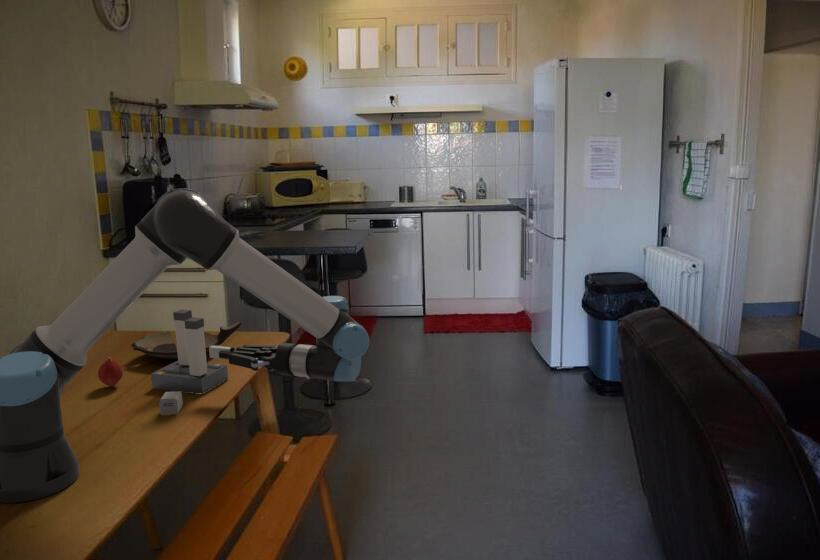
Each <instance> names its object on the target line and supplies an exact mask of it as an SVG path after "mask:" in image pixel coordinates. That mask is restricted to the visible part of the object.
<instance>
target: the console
mask: <svg viewBox="0 0 820 560" xmlns="http://www.w3.org/2000/svg"><path fill="white" fill-rule="evenodd" d="M228 373H229V372H228V365H227V364H221V363H212V362H211V363H210V362H208V363H207V373H205V374H203V375H201V376H195V375H190V370H189V365H180V364H178V360H176V361H174V362H172V363H170V364H168V365H166V366H164V367H162V368H159V369H158V370H155V371H154V372H151V373H150V377H151V378H150V379H151V385H152V386H151V387H152V388H153V390H154V389H155V390H160V389H164V390H163V391H168V390H173V391H172V392H176V391H183V392H182V393H184V392H193V393H202V394H203V393H204V392H206V391H208V390H209V389H211V388H213V387H214V386H217V385H218V384H220V383H221V382H223V381H225V380H227V379H228V380H229V374H228ZM228 380H227V381H228ZM225 382H226V381H225ZM223 383H224V382H223ZM220 385H221V384H220ZM218 386H219V385H218ZM218 386H217V387H218ZM213 389H214V388H213ZM208 392H209V391H208ZM206 393H207V392H206ZM203 395H204V394H203Z"/></svg>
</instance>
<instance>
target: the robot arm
mask: <svg viewBox="0 0 820 560" xmlns="http://www.w3.org/2000/svg"><path fill="white" fill-rule="evenodd" d="M134 228H135V229H134V233H135V236H134V239H132V240H131V241H130V243H128V244H127V245H126V246H125V248H124V249H123V250H121V252H120V253H119V254H118V255H117V256H116V257H115V258H114V259H113V260H112V261H111V262H110V263H109V264H108V265H107V266H106V267H104V268H105V269H103V270H102V271H101V272H100V273H99V274H98V275H97V276H96V277H95V278H94V280H93V281H91V283H90V284H89V285H88V286H87V287H86V288H85V289H84V290H83V291H82V292H81V293H80V294H79V295H78V296H77V297H76V298H75V299H74V301H72V303H70V305H69V306H68V307H66V309H65V310H64V311H63V312H62V313H60V315H59V316H58V317H56V319H55V320H54V321H53V322H52V323H51V324H49V325H40V326H39V325H38V326H37V327H35V329H34V330H33V331H32V332H31V334H29V335H28V336H27V337H26V338H25V339H24V340H23V341H22V342H21V343H19V344H18V345H15V347H14V348H13V349H12V350H11V351H10V352H9V353H8V354H6V355H3V356H0V503H5V504H7V503H8V504H11V503H12V504H15V503H25V502H30V501H31V502H32V501H34V500H35V501H36V500H39V499H43V498H45V497H48V496H51V495H54V494H56V493H58V492H60V491H62V490H64V489H66V488H68V487H70V486H71V485H72V484H73V483H75V482H76V481H77V479H78V478H79V476H80V474H81V470H80V464H79V463H80V462H79V459H78V458H77V455H76V453H75V452H74V450H73V448H72V447H71V444H70V443H69V441H68V439H67V437H66V435H65V430H64V422H63V413H62V408H61V397H62V393H63V390H64V388H65V387H66V386H67V385H68V384H69V383H70V382H71V381H72V380H73V379H74V378H75V377H76V375H77V374H78V373H79V372H80V371H81V370H82V369H83V368H84V366H86V365H87V363H88V359H87V352H88V351H89V350H90V349H91V348H92V347H93V346H94V345H95V344H96V343H97V342H98V341H99V340H100V339H101V337H103V335H105V334H106V332H107V331H108V330H109V329H110V328H111V327H112V326H113V325H114V324H115V323H116V322H117V321H118V319H120V318H121V317H122V316H123V314H125V312H127V310H128V309H129V308H130V307H132V305H133V304H134V303H135V302H136V301H137V300H138V299H139V298H140V297H141V296H142V295H143V294H144V293H145V292H146V291H147V289H148V288H150V286H151V285H153V283H155V281H156V280H157V279H158V278H159V277H160V276H161V275H162V274H163V273H164V271H165V270H167V269H168V268H169V267H171V266H180V265H181V264H183V263H184V262H185V260H187V259H189V260H191V261H193V262H194V263H196V264H198V265H199V266H201V267H202V268H203V269H205V270H207V271H213V270H214V271H215V270H216V271H218V272H220V274H222V275H223V276H225V277H227V278H228V279H229V280H231V281H232V282H234V283H235V284H237V285H239V287H242V288H243V289H245V291H247V292H249V293H250V294H252V295H253V296H255V297H256V298H258V299H259V300H261V301H262V302H263V303H265V304H266V305H268V306H270V307H271V308H272V309H274V310H275V311H277V312H278V313H280V314H281V315H282V316H284V317H285V318H287V319H288V320H290V321H291V322H293V323H294V324H295V325H297V326H298V327H300V328H301V329H303V330H304V331H306V332H308V334H310V335H312V336H313V337H315V338H316V345H313V344H302V343H300V344H297V343H291V342H290V343H289V342H284V343H281V344H275V345H271V344H269V345H266V344H265V345H264V344H262V345H261V344H259V345H257V344H251V345H250V344H244V345H242V346H237V347H234V346H232V347H231V346H222V345H218V346H213V345H212V346H210V347H209V351H208V352H209V358H210V359H219V360H220V359H221V360H228V364H229V365H233V366H237V367H242V368H247V369H250V370H251V371H255V372H257V371H259V367H263V368H266V369H271V368H274V369H275V370H276V372H277V374H278V375H281V376H290V377H294V376H295V377H299V378H300V377H301V378H306V380H310V379H320V380H327V381H334V382H354V381H355V380H356V379H357V378H358V376H359V375H360V371H361V367H362V358H361V357H362V356H364V355H365V354H366V352H367V350H368V349H369V345H370V336H369V334H368V332H367V330H366V329H365V326H363V325H362V324H360V323H359V322H357V320H355V319H354V318H353V317H352V316H350V315H349V310H350V308H349V305H348V303H349V302H348V299H347V298H346V297H343V296H341V295H325V296H321V295H320V294H319V293H317V292H315V291H314V290H313V289H312V288H310V287H308V286H307V285H306V284H304V283H303V282H302V281H300V280H299V279H297V278H296V277H295V276H293V275H292V274H291V273H289V272H288V271H286V270H285V269H284V268H283V267H281V266H280V265H278V264H276V263H275V262H274V261H273V260H271V259H270V258H269V257H267V256H266V255H264V254H263V253H262V252H260V251H259V250H257V249H256V248H254V246H252V245H250V244H249V243H247V241H245V240H244V239H242V238H241V236H240V232H239V230H238V229H237V228H236V227H234V226H233V225H232V224H231V223H229V222H228V221H227V220H225V218H223V216H222V215H220V214H219V213H218V212H217V210H216V209H215V208H214V206H212V204H211V203H210V201H209V200H208V199H207V198H206V197H205V196H204V195H202V194H201V193H200V192H199V191H195V190H194V189H190V188H185V187H184V188H175V189H171V190H168V191H166V192H165V193H163V194H162V195H161V196H160V197H159V198H158V199H157V201H156V203H155V205H154V206H153V207H152V208H151V209H150V210H149V211H148V212H147V213H146V214H145V216H143V218H142V219H141V220H140V221H139V222H138V223H137V224H136V225H134Z"/></svg>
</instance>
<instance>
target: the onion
mask: <svg viewBox="0 0 820 560" xmlns="http://www.w3.org/2000/svg"><path fill="white" fill-rule="evenodd" d="M123 370H124V369H123V367H122V365H120V363H119V362H118V361H115V360H113V359H112V357H111V356H109V357H107V359H106V360H105V361H104V362H103V363H102V364H101V365H100V366H99V369H98V371H97V377H98V380H99V381H100V382H101V383H102V384H104V385H106V386H108V387H110V388H114V387H115V386H116V385H117V384H118V383H119V382H120V381H121V380H122V378H123V375H124V371H123Z"/></svg>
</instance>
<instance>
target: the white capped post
mask: <svg viewBox="0 0 820 560" xmlns="http://www.w3.org/2000/svg"><path fill="white" fill-rule="evenodd" d="M172 315H173V316H172V317H173V321H174V329H175V330H174V331H175V341H176V348H177V353H178V359H177V361H178V364H180V365H189V359H188V347H187V336H186V329H185V320H187V319H190V318H192V317H193V314H192V310H191V309H179V310H178V309H177V310H175V311H173V312H172Z"/></svg>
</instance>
